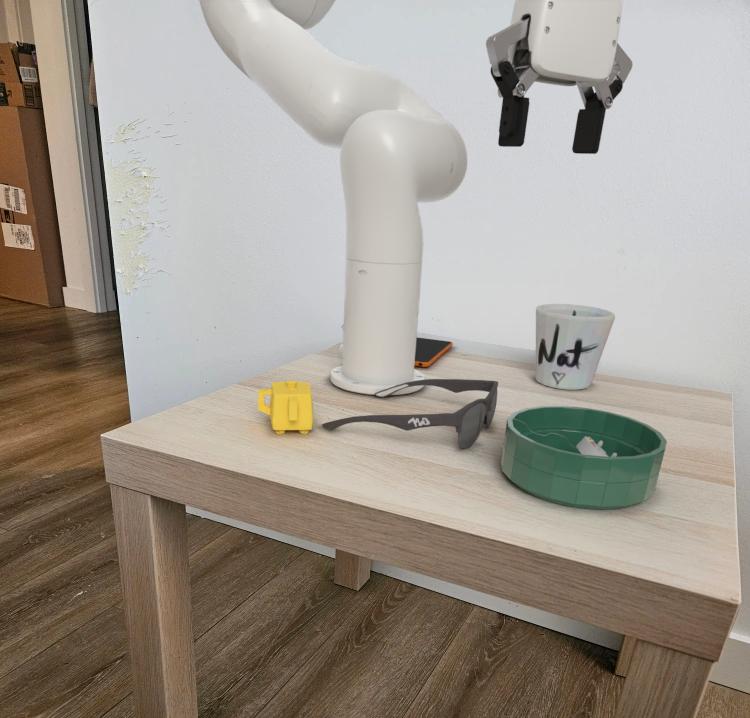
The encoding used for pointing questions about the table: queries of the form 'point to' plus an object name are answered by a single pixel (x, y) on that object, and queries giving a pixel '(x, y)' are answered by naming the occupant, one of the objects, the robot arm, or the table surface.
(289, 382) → the teapot
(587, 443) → the game controller
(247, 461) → the table surface
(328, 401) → the table surface
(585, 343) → the mug
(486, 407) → the sunglasses
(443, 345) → the smartphone
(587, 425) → the bowl
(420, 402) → the table surface
